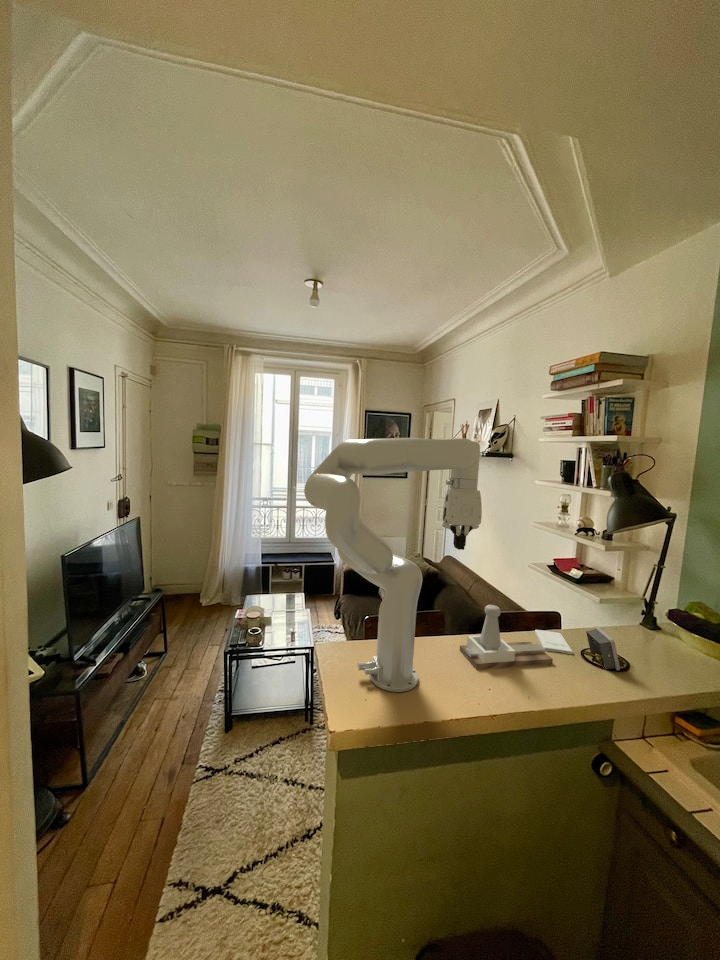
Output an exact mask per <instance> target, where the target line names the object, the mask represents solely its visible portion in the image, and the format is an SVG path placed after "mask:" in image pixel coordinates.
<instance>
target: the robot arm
mask: <svg viewBox="0 0 720 960" xmlns="http://www.w3.org/2000/svg"><path fill="white" fill-rule="evenodd" d="M480 456H481V445H480V443H479V442H477V441H472V440H471V439H469V438H465V437H463V438H460V437H459V438H457V437H455V438H453V437H450V438H423V437H422V438H420V437H394V438H393V437H392V438H365V439H364V438H363V439H360V438H359V439H358V438H357V439H356V438H355V439H353V438H352V439H350V438H349V439H346V440H344V441H342V442H340V443H339V444H338V445H336V447H335V448H334V449H333V450H332V451H331V452H329V454H328V455H327V456H326V457H325V459H323V460H322V462H321V463H320V464H319V465H318V466H317V468H315V470H314V471H313V472H312V473H311V474H310V475H309V476H308V478H307V480H306V482H305V483H304V488H303V491H304V497H305V499H306V501H307V502H308V503H309V504H310V505H311V506H313V507H314V508H317V509H320V510H323V511H325V516H324V517H325V518H324V521H325V522H324V523H325V525H324V526H325V534H326V536H327V539H328V540H329V542H330V543H331V544H332V545H333V546H334V547H335V548H336V549H337V553H338V557H340V559H341V561H342V562H343V563H344V564H345V565H347V566H348V567H349V568H351V569H352V570H353V571H354V572H356V573H357V574H358V575H360V576H361V577H362V578H364V579H365V580H367V581H368V582H369V583H370V584H371V583H372V584H373V585H375V586H377V587H379V588H381V589H382V590H384V591H385V595H384V597H383V599H382V601H381V603H380V604H379V608H378V620H377V621H378V623H377V638H376V639H377V644H376V655H373V656H372V657H373V658H372V660H369V661H361V662H357V669H358V671H364V675H365V676H367V675H369V679H370V680H371V682H372V683H373V684H374V685H375V686H376V687H378V688H379V689H381V690H385V691H387V692H393V693H404V692H408V691H410V690H412V689H414V688H416V686H417V685H418V683H419V673H418V672H417V670H416V669H415V668H414V653H415V639H416V637H415V636H416V622H417V621H416V620H417V609H418V608H417V607H418V601H419V597H420V593H421V589H422V585H423V573H422V571H421V568H420V567H419V566H418V565H417V564H416V563H415V562H414V561H412V560H410V559H408V558H405V557H404V556H400V555H398V554H395V553H393V549H392V548H391V546H390V545H389V544H388V542H387V541H386V540H384V538H383V537H381V536H380V535H378V534H377V533H376V532H375V531H374V530H373V529H371V528H370V527H369V526H368V525H367V524H366V523H365V522H364V521H363V520H362V519H361V515H360V507H361V491H360V488H359V486H358V485H357V483H356V481H354V480H353V479H351V477H352V476H353V474H354V475H361V476H376V475H377V476H378V475H386V474H387V475H389V474H398V473H409V472H410V473H411V472H412V473H413V472H415V473H417V472H424V471H425V472H426V471H444V470H450V477H449V479H446V481H445V485H446V486H448V487H449V488H447V490H446V493H445V497H444V502H443V509H442V521H443V522H442V528H444V529H446V530H450V531H451V532H452V534H453V543H452V544H453V547H454V548H455V549H457V550H458V551H459V550H461V551H464V550H465V546H467V545H466V544H467V542H466V541H467V536H468V535H469V533H471V531H472V530H476V529H479V526H480V525H481V523H482V520H483V519H482V517H483V516H482V515H483V514H482V513H483V509H482V504H483V503H482V496H481V490H478V485H479V484H478V483H479V471H480V469H479V468H480Z"/></svg>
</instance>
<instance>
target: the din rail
mask: <svg viewBox="0 0 720 960" xmlns="http://www.w3.org/2000/svg"><path fill="white" fill-rule="evenodd" d="M509 646H510V647H511V648H513V649H514V650H515V655H521V654H537V653H546V651H545V649H544V648H543V647H542V645H541V644H538V643H533V644H525V645H509ZM499 648H500V647H499ZM498 650H499V649H498ZM500 650H502V649H500ZM465 652H466V653H467V654H468V655H469V656H470V657H471V658H474V657H478V653H477V652H476V651H475V650H474V649H473V648H465Z"/></svg>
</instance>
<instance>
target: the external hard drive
mask: <svg viewBox="0 0 720 960" xmlns="http://www.w3.org/2000/svg"><path fill="white" fill-rule="evenodd" d="M534 634H535V635H536V637H537V639H538V641H539V643H540V646H541V647H542V648H544V649H545V652H553V653H560V654H567V655H574V651H573V650H572V648H571V646H570V645H569V644H568V642H567V641H566V639H565V638H564V636H563V635H562V633H560V632H557V631H556V632H555V631H549V630H543V629H535V630H534Z"/></svg>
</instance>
